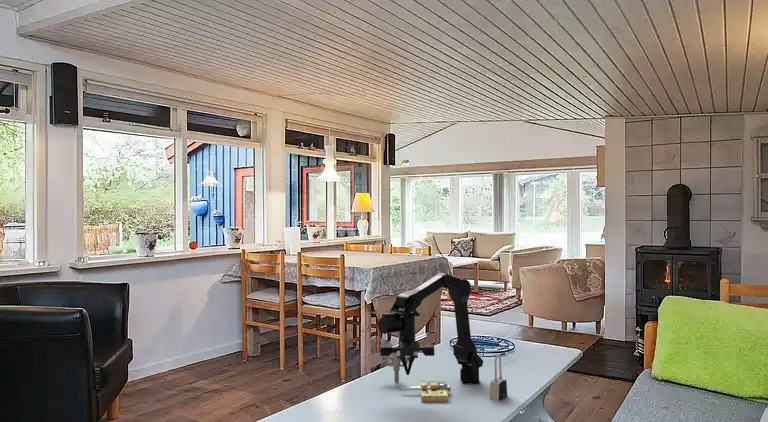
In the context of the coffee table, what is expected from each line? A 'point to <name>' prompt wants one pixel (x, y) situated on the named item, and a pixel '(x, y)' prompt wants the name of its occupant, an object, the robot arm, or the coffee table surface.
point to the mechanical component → (394, 364)
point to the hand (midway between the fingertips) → (407, 374)
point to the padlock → (498, 384)
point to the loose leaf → (433, 394)
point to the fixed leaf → (440, 386)
